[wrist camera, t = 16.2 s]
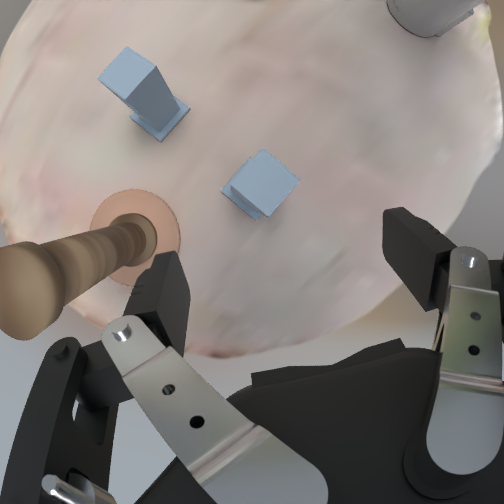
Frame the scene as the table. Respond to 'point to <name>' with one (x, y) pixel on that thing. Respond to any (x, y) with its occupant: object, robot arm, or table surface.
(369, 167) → the table surface
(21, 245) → the candlestick
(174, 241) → the disc
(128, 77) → the blue pillar pair
